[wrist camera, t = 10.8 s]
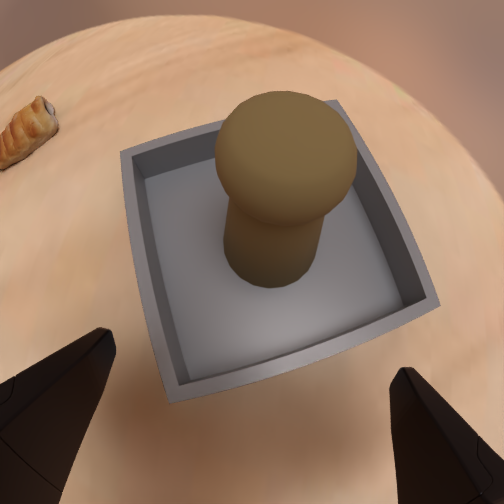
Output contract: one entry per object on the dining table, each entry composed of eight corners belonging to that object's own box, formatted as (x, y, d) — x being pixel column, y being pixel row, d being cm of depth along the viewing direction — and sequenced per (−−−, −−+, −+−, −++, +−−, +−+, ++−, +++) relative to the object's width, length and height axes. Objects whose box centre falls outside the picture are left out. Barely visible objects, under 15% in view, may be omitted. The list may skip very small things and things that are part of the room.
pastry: (1, 187, 23) (-20, 169, 19) (-4, 153, 25) (-21, 136, 21) (64, 131, 25) (48, 108, 21) (53, 104, 26) (39, 83, 23)
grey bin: (185, 393, 17) (169, 403, 14) (137, 181, 22) (119, 151, 18) (410, 314, 19) (440, 305, 15) (326, 132, 24) (336, 99, 20)
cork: (227, 197, 20) (210, 66, 10) (315, 203, 20) (364, 80, 10) (219, 285, 18) (181, 202, 8) (317, 290, 18) (395, 216, 8)
